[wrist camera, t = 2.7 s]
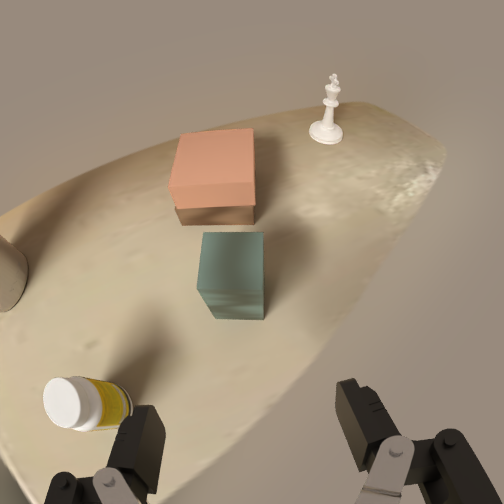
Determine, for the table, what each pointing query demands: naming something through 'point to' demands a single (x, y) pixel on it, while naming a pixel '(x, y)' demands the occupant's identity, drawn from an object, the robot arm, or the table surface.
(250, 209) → the walnut base block
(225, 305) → the green pillar block
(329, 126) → the chess piece
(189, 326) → the table surface
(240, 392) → the table surface
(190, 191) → the terracotta top block
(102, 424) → the supplement bottle
